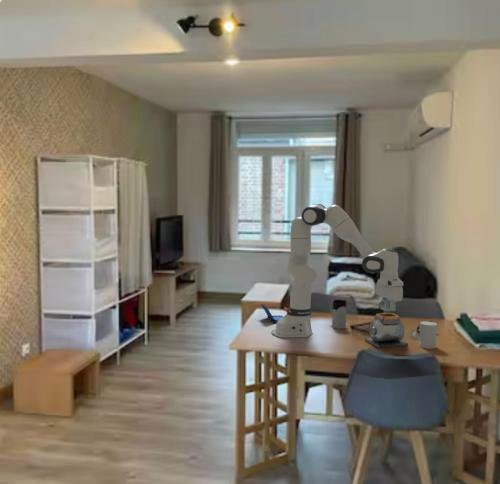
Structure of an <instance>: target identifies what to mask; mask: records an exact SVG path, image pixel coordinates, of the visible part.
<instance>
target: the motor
mask: <svg viewBox="0 0 500 484" xmlns="http://www.w3.org/2000/svg"><path fill="white" fill-rule="evenodd" d="M368 330H369V335H370V337H365V338H364V342H367V343H368V344H370V345H372V346H374V347H376V348H377V349H389V348H401V347H408V346H409V343H408V342H407V341H404V340H403V339H404V337H405V325H404V323H403V321H402V319H401V318H400V315H397V314H395V313H392V312H388V313H387V312H386V313H375V315H374V317H373V320H371V322H370V323H369V329H368Z"/></svg>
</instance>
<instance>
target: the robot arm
mask: <svg viewBox="0 0 500 484" xmlns="http://www.w3.org/2000/svg"><path fill="white" fill-rule="evenodd" d="M322 223H325V224H327V225H328V226H329V227H330V228H331V230H332V231H333V232H334V234H335V235H336V236H337V237H338V238H340V239H341V240H343V241H346V242H348V243H350V244H351V245H353V246H354V247H355V248H356V250H357V251H358V253H360V255H361V256H362V257H363V259H362V261H361V267H362V269H363V270H364V271H365V272H366V273H369V274H376V273H380V274H379V277H378V279H377V281H376V284H375V292H374V293H375V295H376V296H379V297H381V299H380V300H385V299H390V304H389V308H393V306H394V303H395V301H396V303H398V302H402V301H403V298H404V290H403V289H404V288H403V287H404V281H402V280H401V279H400V278H399V272H398V271H399V253H398V252H397V251H396V250H395V249H391V248H386V247H384V248H382V249H381V250H379V251H376V250H375V249H373V248H372V247H371V245H370V244H369V243H368V242H367V240H366V239H365V238H364V237H363V236H362V234H361V233H360V231H359V229H358V228H357V226H356V224H355V222H354V221H353V220H352V219H351V217H350V216H349V215H348V213H347V212H346V211H345V210H344V209H343V208H342V207H341V206H339V205H338V204H333V205H330V206H328V207H326V206H325V205H324V204H320V203H314V204H311V205H308V206H306V207H304V209H303V210H302V212H301V216H297V217H295V218H293V219H292V221H291V225H290V237H289V238H290V254H289V259H288V265H287V266H286V274H287V276H288V277H289V278H290V279H291V280H292V281H293V285H292V286H293V287H292V290H291V292H290V297H289V299H290V300H289V301H290V302H289V307H288V308H287V307H284V308H283V311H284V312H286V314H285V315H284V316H283V317H282V318H281V319H280V320H278V322H277V323H275V329H271V334H272V335H273V334H274V335H273V336H276V337H277V336H278V337H277V338H308V337H309V336H312V335H313V329H312V324H311V317H312V308H311V301H312V300H311V299H312V297H311V296H312V290H313V287H314V284H315V283H314V282H315V281H316V280H317V278H318V277H317V276H318V274H317V270H315V268H314V267H313V266H312V265H310V264H309V257H310V254H311V252H312V228H313V227H315V226H318V225H321V224H322Z"/></svg>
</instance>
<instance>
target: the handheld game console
mask: <svg viewBox="0 0 500 484" xmlns="http://www.w3.org/2000/svg"><path fill="white" fill-rule="evenodd" d="M261 307H262V309H263V310H264V312H265V314H266V315H267V317H268V318H269V320H270V319H271V320H270V321H271V322H272V323H273V324H277V322H278V320H280V319H281V318H282V317H284V316H283V315H272V313H271V312H270V309H269V308H267V307H266V306H265V305H264V304H263V303H261ZM268 318H267V319H268Z"/></svg>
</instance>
